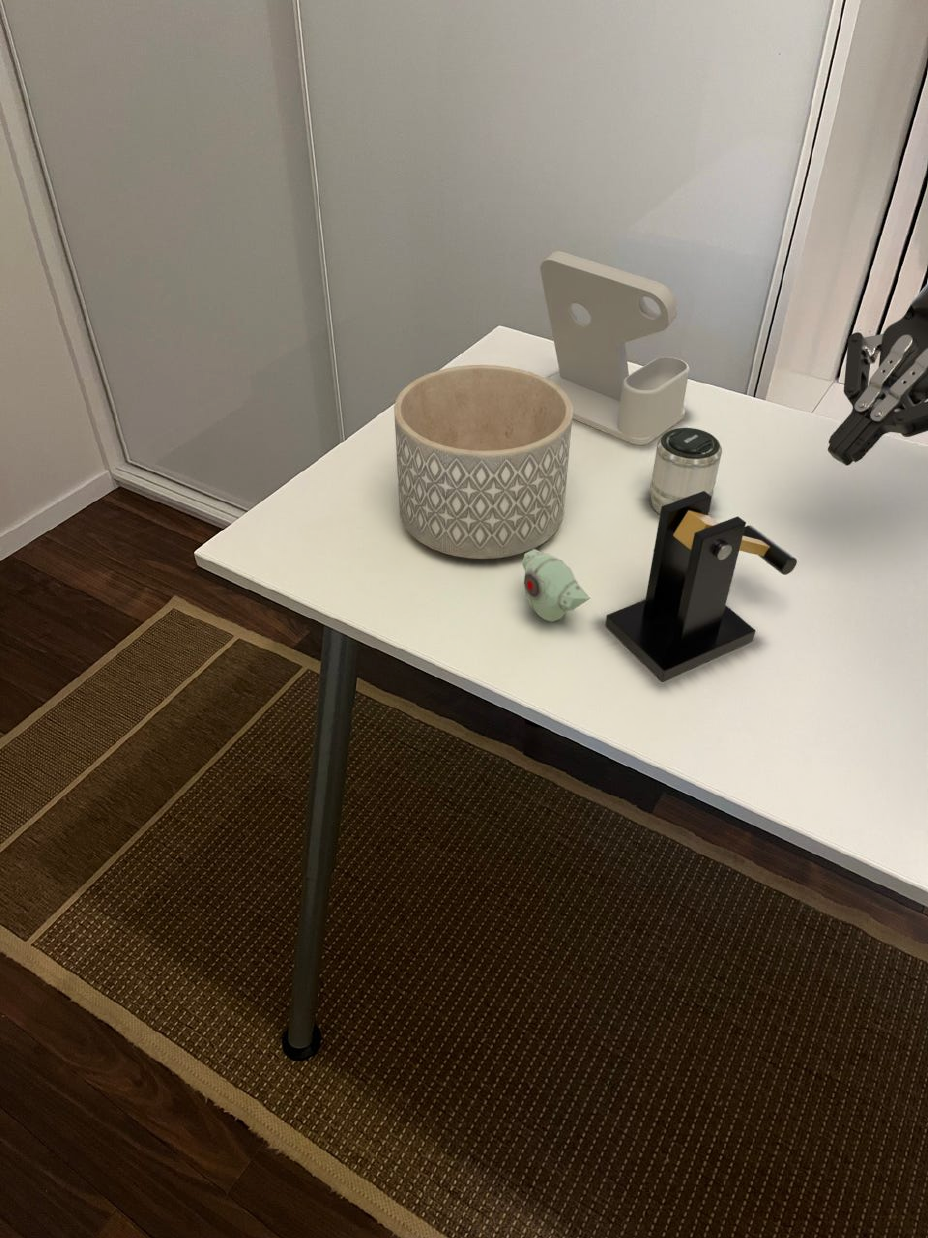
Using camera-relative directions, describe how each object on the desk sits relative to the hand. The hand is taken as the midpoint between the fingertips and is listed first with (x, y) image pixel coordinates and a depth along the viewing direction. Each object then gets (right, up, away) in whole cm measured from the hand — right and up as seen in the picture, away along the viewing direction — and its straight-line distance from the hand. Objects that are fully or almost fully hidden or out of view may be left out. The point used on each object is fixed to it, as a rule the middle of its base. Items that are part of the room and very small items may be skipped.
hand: (837, 457), depth 79 cm
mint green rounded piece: (-24, -14, +5) cm, 28 cm away
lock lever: (-10, -8, 0) cm, 12 cm away
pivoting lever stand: (-13, -15, +4) cm, 20 cm away
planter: (-30, -4, +16) cm, 34 cm away
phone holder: (-14, +12, +33) cm, 38 cm away
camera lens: (-9, -2, +18) cm, 20 cm away
